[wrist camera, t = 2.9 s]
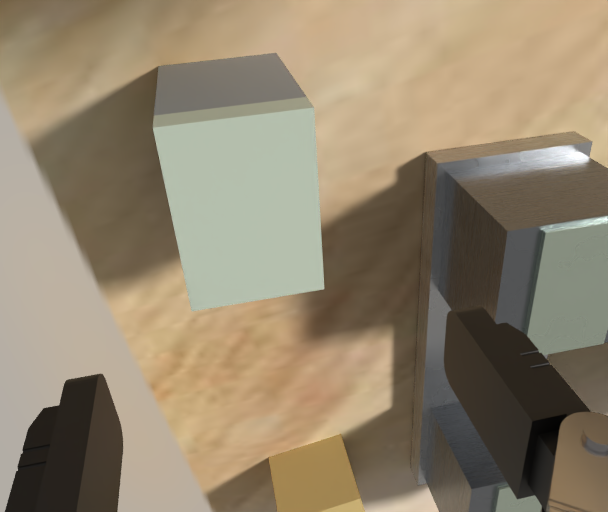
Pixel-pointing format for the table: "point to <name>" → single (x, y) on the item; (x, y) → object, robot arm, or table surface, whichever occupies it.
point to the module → (240, 179)
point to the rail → (503, 286)
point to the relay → (315, 479)
